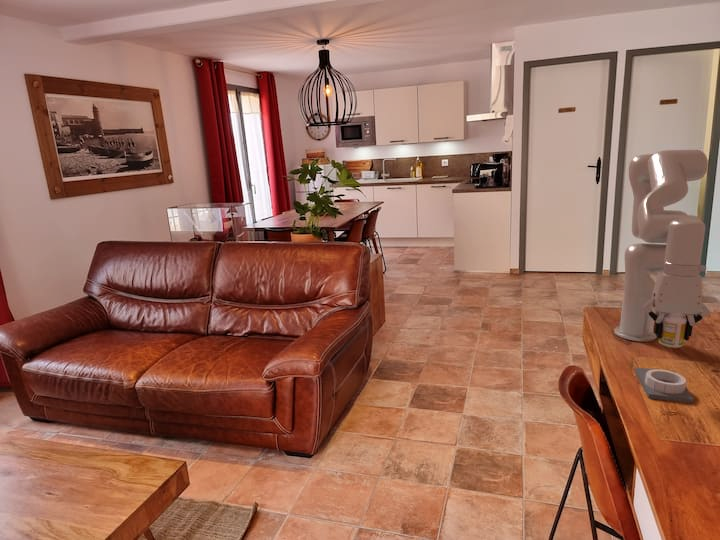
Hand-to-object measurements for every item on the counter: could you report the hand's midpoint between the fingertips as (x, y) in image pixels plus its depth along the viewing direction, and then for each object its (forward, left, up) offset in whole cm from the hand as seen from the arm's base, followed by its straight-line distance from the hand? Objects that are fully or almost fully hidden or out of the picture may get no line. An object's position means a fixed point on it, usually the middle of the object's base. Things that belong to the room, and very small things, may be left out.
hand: (671, 336), depth 125 cm
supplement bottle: (0, 0, -2) cm, 2 cm away
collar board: (-2, 0, -15) cm, 15 cm away
